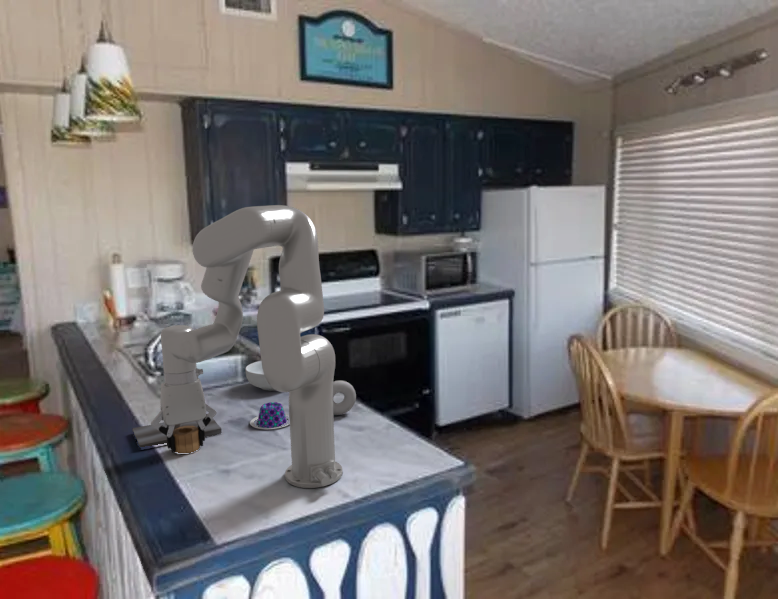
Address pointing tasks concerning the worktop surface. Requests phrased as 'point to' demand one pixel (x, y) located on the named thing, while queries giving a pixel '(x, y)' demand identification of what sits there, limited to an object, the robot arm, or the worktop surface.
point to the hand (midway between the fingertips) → (186, 446)
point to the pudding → (270, 416)
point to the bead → (186, 439)
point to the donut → (348, 397)
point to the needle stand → (155, 437)
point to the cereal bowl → (257, 376)
